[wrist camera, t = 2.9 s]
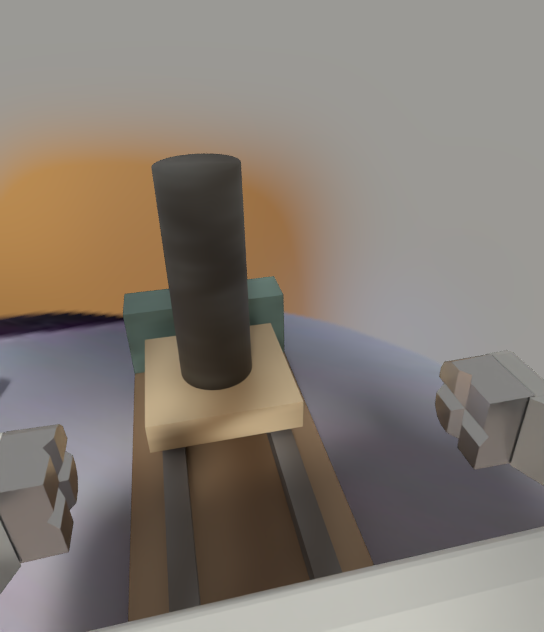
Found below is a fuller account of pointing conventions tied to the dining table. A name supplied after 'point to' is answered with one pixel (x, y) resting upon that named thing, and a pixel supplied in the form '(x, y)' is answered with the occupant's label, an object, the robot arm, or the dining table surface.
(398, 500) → the dining table surface
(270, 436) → the rail track
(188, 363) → the cylinder
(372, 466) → the dining table surface
